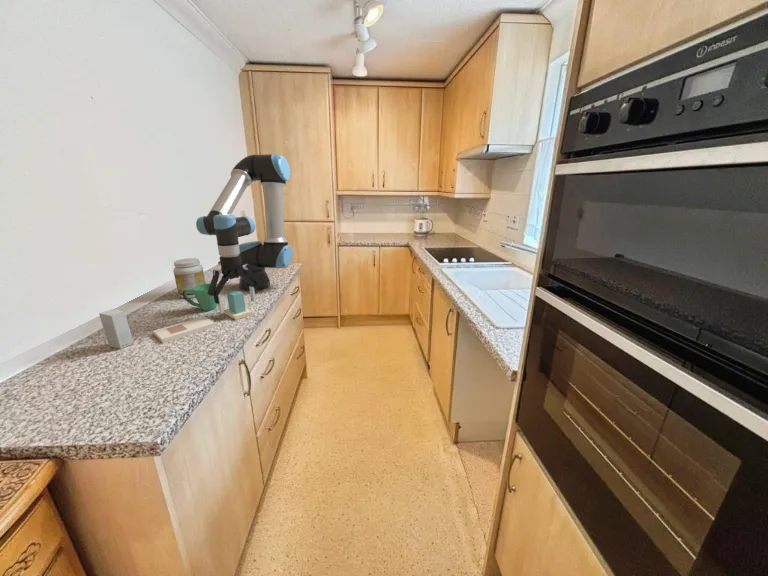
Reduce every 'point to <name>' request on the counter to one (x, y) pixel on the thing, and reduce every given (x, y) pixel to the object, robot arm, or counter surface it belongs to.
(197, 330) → the ticket
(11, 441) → the counter surface
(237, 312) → the stub
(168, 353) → the counter surface
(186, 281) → the supplement tub
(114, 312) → the skincare box
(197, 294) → the mug
